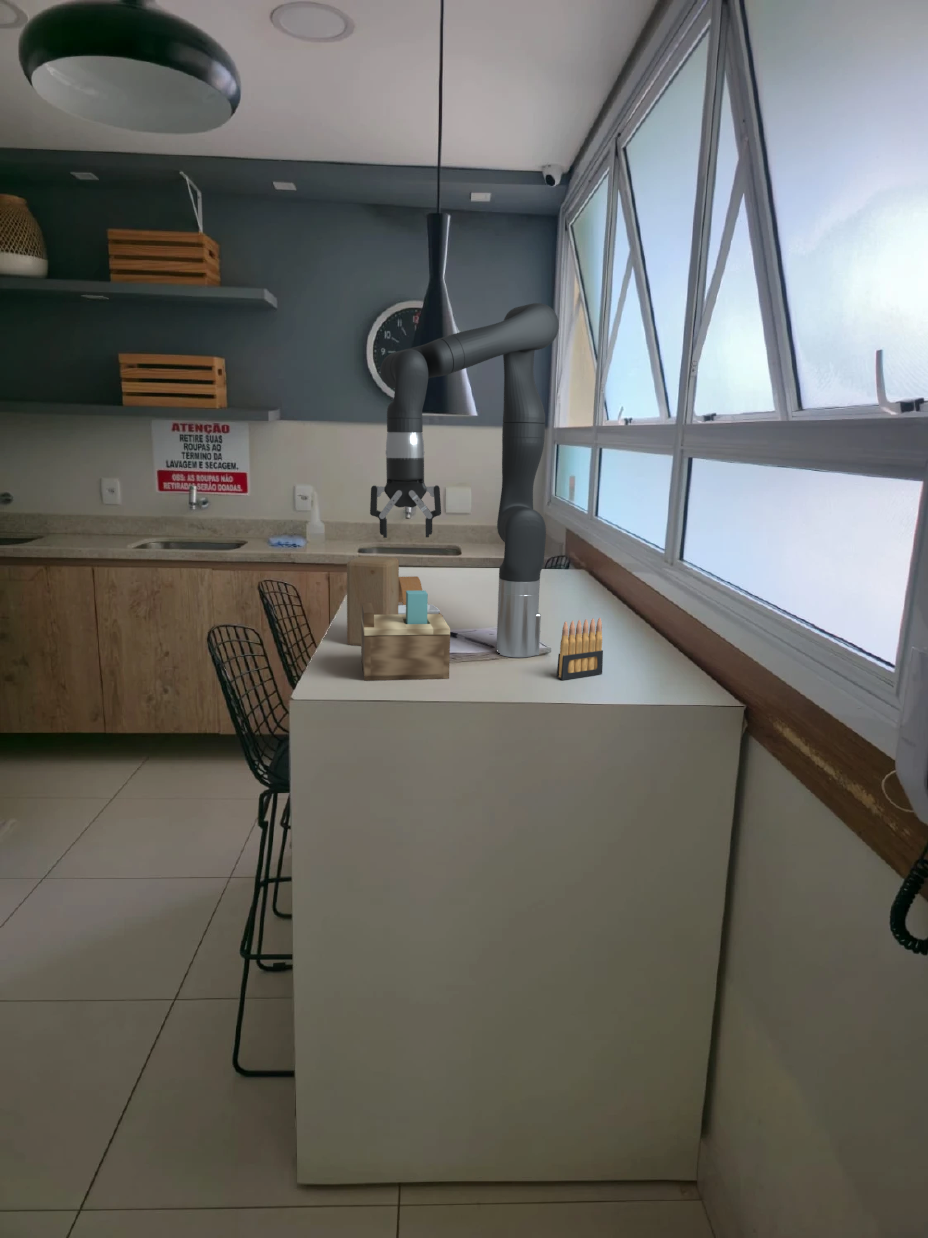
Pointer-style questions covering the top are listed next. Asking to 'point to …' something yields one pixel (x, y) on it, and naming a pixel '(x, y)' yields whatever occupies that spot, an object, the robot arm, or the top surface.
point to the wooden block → (370, 590)
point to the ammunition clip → (580, 651)
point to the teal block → (416, 607)
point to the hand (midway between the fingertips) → (406, 537)
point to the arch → (408, 587)
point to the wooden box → (405, 657)
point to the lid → (400, 624)
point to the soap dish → (430, 609)
